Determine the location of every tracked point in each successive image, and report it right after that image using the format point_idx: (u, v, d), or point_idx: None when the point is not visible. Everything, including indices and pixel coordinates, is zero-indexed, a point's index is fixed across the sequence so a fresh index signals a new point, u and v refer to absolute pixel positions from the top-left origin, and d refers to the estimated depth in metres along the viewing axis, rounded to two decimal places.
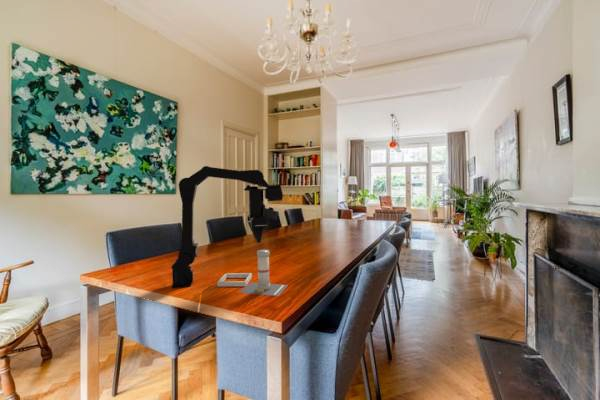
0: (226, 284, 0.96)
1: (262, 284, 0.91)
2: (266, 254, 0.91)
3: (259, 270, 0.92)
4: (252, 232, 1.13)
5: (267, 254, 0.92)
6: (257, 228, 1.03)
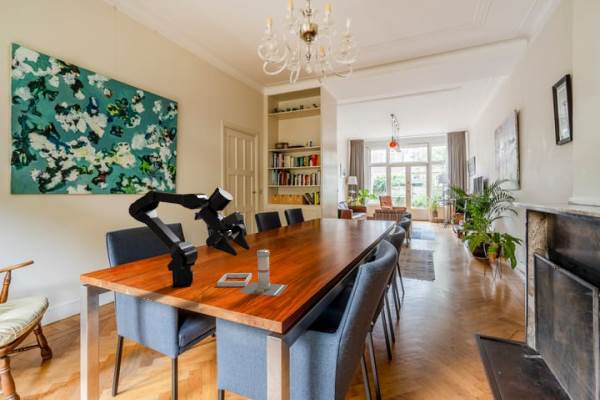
0: (226, 284, 0.96)
1: (262, 284, 0.91)
2: (266, 254, 0.91)
3: (259, 270, 0.92)
4: (241, 246, 1.00)
5: (267, 254, 0.92)
6: (222, 244, 0.90)
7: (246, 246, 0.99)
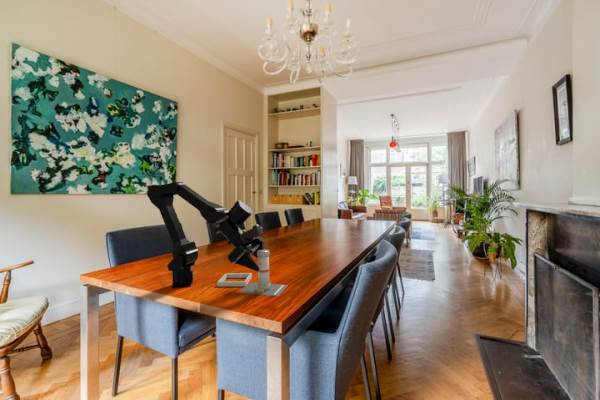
0: (226, 284, 0.96)
1: (262, 284, 0.91)
2: (266, 254, 0.91)
3: (259, 270, 0.92)
4: None
5: (267, 254, 0.92)
6: (244, 259, 0.88)
7: None
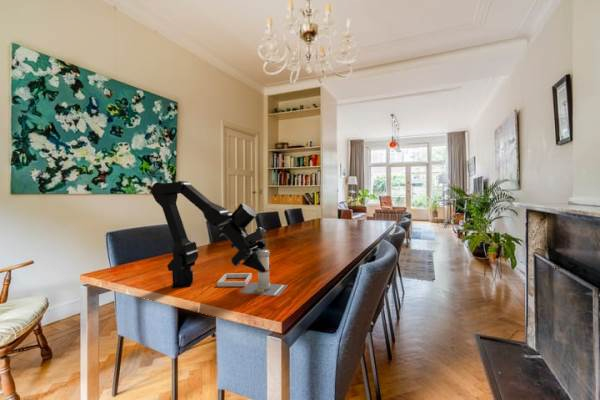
0: (226, 284, 0.96)
1: (262, 284, 0.91)
2: (266, 254, 0.91)
3: None
4: None
5: (267, 254, 0.92)
6: (250, 261, 0.90)
7: None
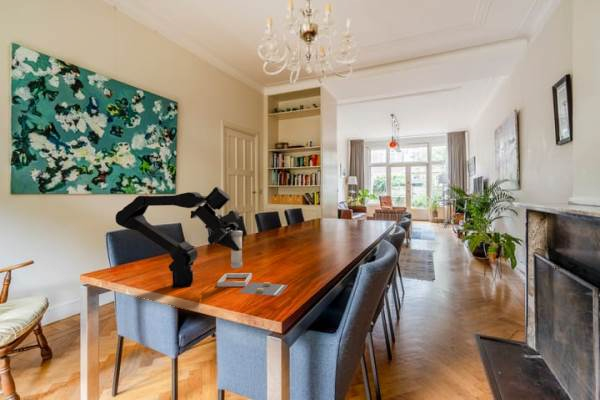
0: (226, 284, 0.96)
1: (235, 262, 0.99)
2: (240, 234, 0.99)
3: None
4: None
5: (241, 234, 0.99)
6: (225, 240, 0.97)
7: None
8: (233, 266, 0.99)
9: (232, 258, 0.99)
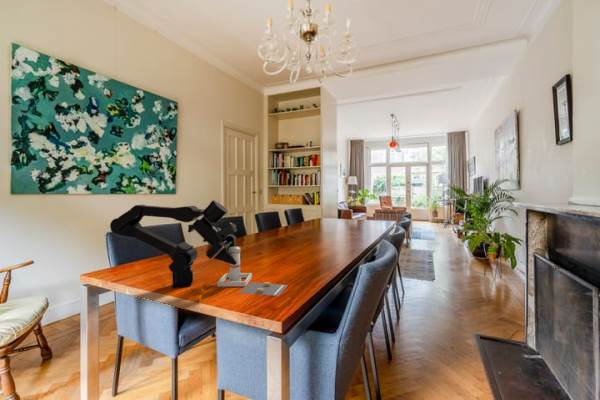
0: (226, 284, 0.96)
1: (234, 278, 0.99)
2: (238, 251, 0.99)
3: (231, 265, 0.99)
4: None
5: (239, 250, 1.00)
6: (222, 254, 0.96)
7: None
8: None
9: (231, 275, 1.00)
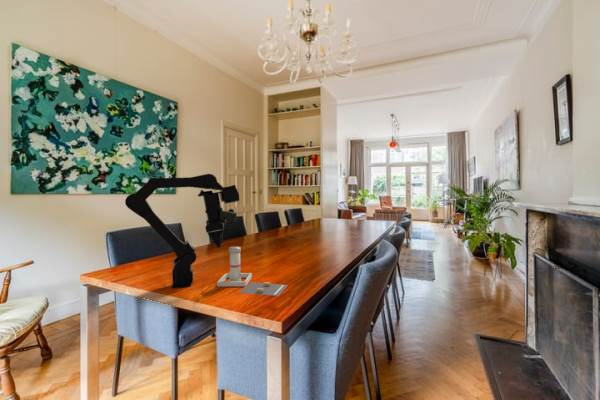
0: (226, 284, 0.96)
1: (234, 278, 0.99)
2: (238, 250, 1.00)
3: (231, 265, 0.99)
4: None
5: (239, 250, 1.00)
6: (215, 233, 1.01)
7: (220, 239, 1.12)
8: None
9: (231, 274, 1.00)
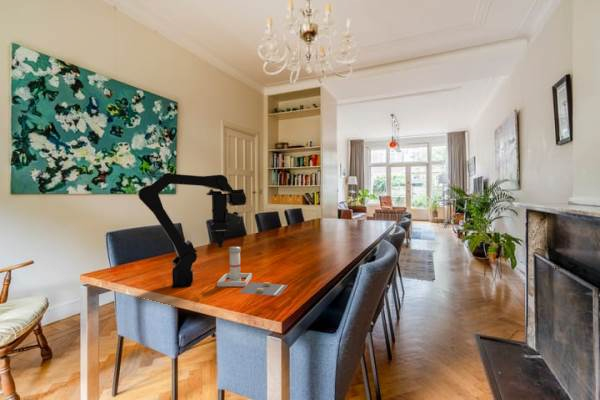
0: (226, 284, 0.96)
1: (234, 278, 0.99)
2: (238, 250, 1.00)
3: (231, 265, 1.00)
4: None
5: (239, 250, 1.00)
6: (218, 233, 1.03)
7: None
8: None
9: (231, 274, 1.00)
